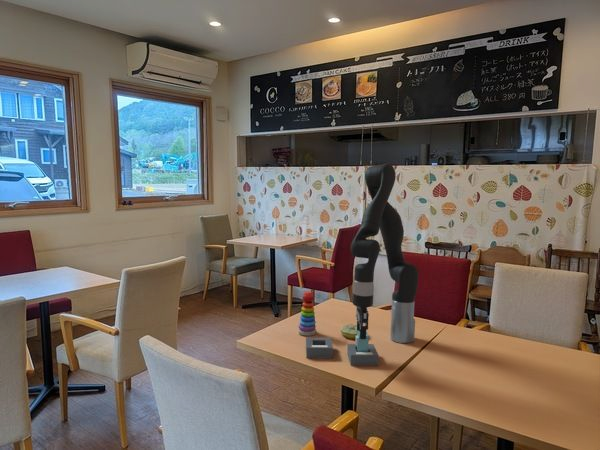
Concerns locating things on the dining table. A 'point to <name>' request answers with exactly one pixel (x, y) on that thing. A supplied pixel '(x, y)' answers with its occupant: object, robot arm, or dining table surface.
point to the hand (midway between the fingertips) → (361, 334)
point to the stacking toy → (307, 315)
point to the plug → (362, 343)
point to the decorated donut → (349, 331)
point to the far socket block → (319, 348)
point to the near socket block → (362, 356)
